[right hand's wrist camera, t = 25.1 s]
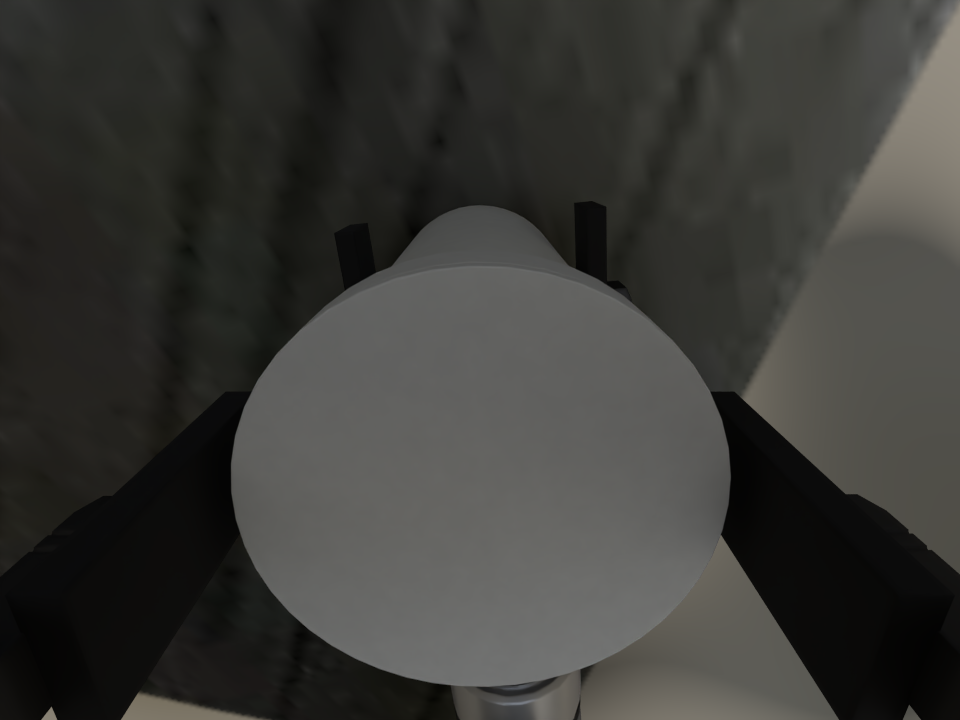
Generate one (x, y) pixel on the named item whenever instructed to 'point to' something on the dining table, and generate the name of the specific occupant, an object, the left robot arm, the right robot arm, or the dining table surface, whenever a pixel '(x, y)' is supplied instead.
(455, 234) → the jar
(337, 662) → the dining table surface
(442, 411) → the lid
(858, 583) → the right robot arm
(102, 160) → the dining table surface
